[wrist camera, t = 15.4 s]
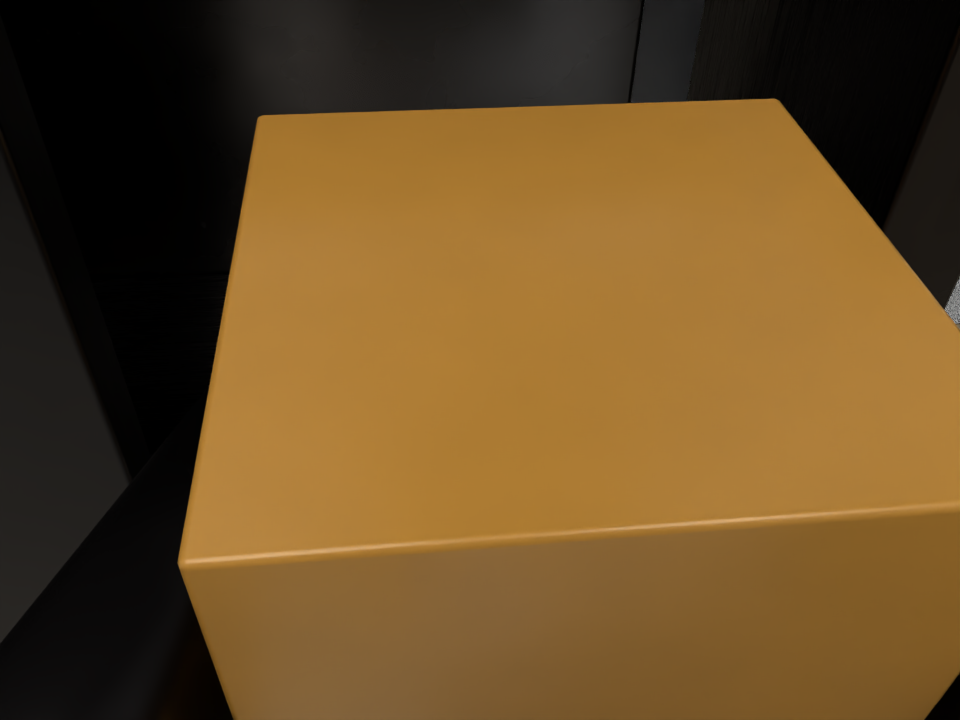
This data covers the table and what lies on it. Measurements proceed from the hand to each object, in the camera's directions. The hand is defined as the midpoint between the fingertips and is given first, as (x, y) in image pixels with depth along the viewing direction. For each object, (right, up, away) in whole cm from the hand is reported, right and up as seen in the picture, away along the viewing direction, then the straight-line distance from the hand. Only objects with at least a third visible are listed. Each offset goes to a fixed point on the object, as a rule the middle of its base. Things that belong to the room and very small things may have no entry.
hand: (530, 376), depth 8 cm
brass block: (0, +1, +1) cm, 1 cm away
